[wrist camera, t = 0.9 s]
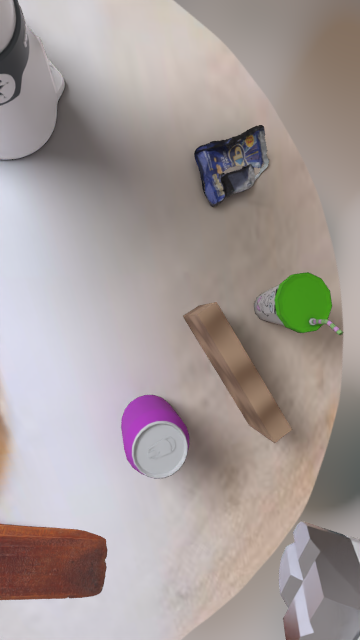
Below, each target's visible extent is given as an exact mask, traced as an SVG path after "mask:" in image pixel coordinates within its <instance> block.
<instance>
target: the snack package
mask: <svg viewBox="0 0 360 640" xmlns="http://www.w3.org/2000/svg"><path fill="white" fill-rule="evenodd" d="M264 136H265V131H264V126H262V125H259V126H255V127H253V128H251V129H249V130H247V131H246V132H244V133H242V134H241V135H238V136H236V137H232V138H230V139H227V140H221V141H212V142H210V143H208V144H206V145H202V146H200V147H198V148H197V149H196V150H195V153H194V155H195V159H196V162H197V165H198V167H199V171H200V175H201V180H202V186H203V191H205V192H204V194H205V196H206V197H207V199H208V201H209V203H210V205H211V206H212V207H214V206H217V205H218V204H220V203H221V202H222V201H223V200H224V198H225V197H229V196H230V195H231V194H234V193H238V192H242V191H244V190H247V189H249V188H250V187H252V186H253V184H254V182H255V179H256V178H258V177H259V175H260V174H261V173H262V172H263V171H264V170H265V169H266V168H267V166H268V163H269V159H268V158H267V154H266V153H267V149H266V142H265V137H264ZM263 162H264V166H263V167H261V166H262V163H263ZM233 166H245V167H242V169H239V170H236V171H233V172H230V173H226V174H224V173H222V172H224V171H225V170H226V169H228V168H229V167H233ZM254 167H258V168H259V167H260V168H261V169H260V172H259V173H258V175H256V176H255V174H254ZM203 181H204V183H205V190H204V184H203Z"/></svg>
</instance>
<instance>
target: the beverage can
mask: <svg viewBox="0 0 360 640" xmlns="http://www.w3.org/2000/svg"><path fill="white" fill-rule="evenodd" d="M121 428H122V436H123V443H124V450H125V453H126V457H127V460H128V461H129V463H130V464H131V466H132V467H133V468H134V469H135V470H137V471H138V472H140V473H141V474H143V475H146V476H147V477H151V478H155V479H159V478H166V477H168V476H171V475H173V474H174V473H175V472H177V471H178V470H179V469H180V468H181V466H182V465H183V463H184V462H185V459H186V456H187V452H188V449H189V434H188V430H187V427H186V425H185V424H184V423H183V421H182V420H181V418H180V417H179V416H178V414H177V413H176V412H175V411H174V409H173V408H172V407H171V406H170V404H169V403H168V402H166V401H165V400H164V399H162V398H161V397H158V396H155V395H144V396H141V397H138V398H136V399H135V400H133V401H132V402H130V404H129V405H128V406H127V408H126V409H125V411H124V414H123V416H122V425H121Z"/></svg>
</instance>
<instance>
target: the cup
mask: <svg viewBox="0 0 360 640" xmlns="http://www.w3.org/2000/svg"><path fill="white" fill-rule="evenodd" d="M331 308H332V302H331V295H330V290H329V289H328V288H327V286H326V285H325V283H324V282H323V280H322V279H321V278H319V277H317V276H315V275H313V274H311V273H300V274H293V275H290V276H289V277H288V278H287V279H286V280H284V281H283V282H282V283H281V284H279V285H277V286H275V287H273V288H272V289H270V290H268V291H266V292H264V293H262V294H261V295H260V296H258V297H257V298H256V301H255V303H254V309H255V313H256V315H257V316H258V317H259V319H262V320H264V321H267V322H271V323H275V324H279V325H282V326H285V327H286V328H289V329H291V330H293V331H296V332H298V333H305V332H311V331H316V330H318V329H319V328H320V327H321V326H322V325H323V324H327V325H329V326H330V327H331V328H332V329H333V330H334V331H335V332H336V333H337V334H338V335H341V334H342V333H343V332H342V331H341V330H340V329H339V328H338V327H337V326H336V325H335V324H333V323H332V322H331V321H330V320H328V317H329V314H330V311H331Z"/></svg>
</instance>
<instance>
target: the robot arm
mask: <svg viewBox="0 0 360 640" xmlns="http://www.w3.org/2000/svg"><path fill="white" fill-rule="evenodd" d="M64 87H65V82H64V79H63V76H62V74H61V73H60V72H59V71H58V69H57V68H56V67H55V66H54V65H53V64H52V62H51V61H50V60H49V59H48V58H47V56H46V53H45V49H44V46H43V43H42V41H41V39H40V38H39V37H37V36H35V34H34V33H33V32H32V30H31V29H30V28H29V27H28V26H27V25H26V23H25V19H24V16H23V13H22V10H21V7H20V6H19V3H18V1H17V0H0V159H16V158H21V157H24V156H27V155H29V154H31V153H33V152H35V151H37V150H38V149H39V148H41V147H42V146H43V145H44V144H45V143H46V142H47V140H48V139H49V138H50V136H51V134H52V132H53V130H54V127H55V124H56V118H57V103H58V100H59V98H60V96H61V94H62V92H63V90H64ZM293 534H294V540H295V543H292V544H290V545H288V546H286V548H285V550H284V553H283V555H282V558H281V563H280V568H279V587H280V595H281V596H282V598H283V600H284V602H285V603H286V605H287V606H288V610H287V612H286V614H285V616H284V618H283V620H284V629H285V637H286V640H360V540H359V539H356V538H353V537H349V536H345V535H343V534H340V533H337V532H334V531H331V530H328V529H325V528H321V527H319V526H316V525H312V524H309V523H306V522H303V521H301V522H300V523H299V524H297V526H296V528H295V530H294V532H293Z"/></svg>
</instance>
